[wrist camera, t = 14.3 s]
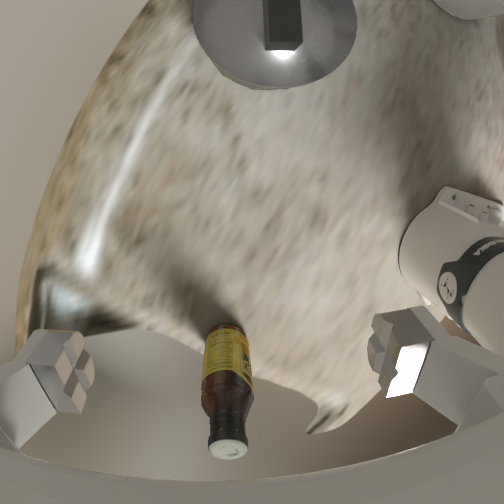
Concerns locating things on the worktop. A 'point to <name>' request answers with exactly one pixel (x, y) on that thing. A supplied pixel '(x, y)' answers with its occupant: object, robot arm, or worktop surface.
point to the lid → (276, 38)
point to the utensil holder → (472, 8)
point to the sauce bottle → (227, 390)
